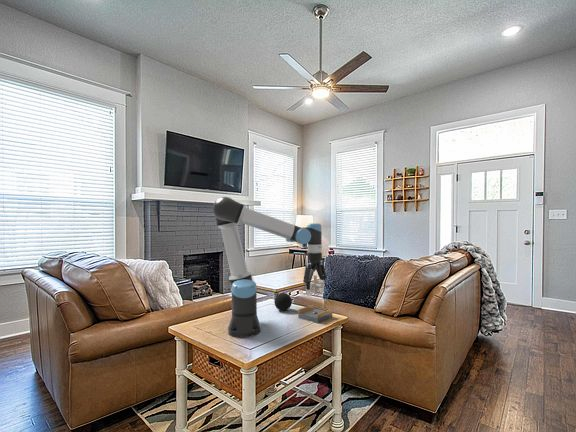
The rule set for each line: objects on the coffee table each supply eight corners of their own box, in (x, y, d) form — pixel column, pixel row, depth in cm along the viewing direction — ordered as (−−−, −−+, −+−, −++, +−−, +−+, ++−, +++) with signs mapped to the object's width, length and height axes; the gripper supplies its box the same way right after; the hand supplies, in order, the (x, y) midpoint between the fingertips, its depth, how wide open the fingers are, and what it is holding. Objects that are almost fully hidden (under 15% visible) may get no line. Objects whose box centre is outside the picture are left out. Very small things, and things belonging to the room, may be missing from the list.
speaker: (282, 314, 175) (281, 296, 175) (271, 310, 183) (270, 293, 183) (295, 310, 182) (295, 293, 182) (284, 307, 189) (284, 290, 190)
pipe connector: (328, 294, 168) (328, 275, 168) (314, 297, 162) (314, 278, 162) (315, 291, 176) (315, 273, 176) (302, 293, 170) (302, 275, 170)
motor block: (318, 323, 160) (317, 314, 160) (298, 318, 169) (298, 309, 169) (332, 317, 170) (332, 308, 170) (312, 312, 178) (312, 304, 178)
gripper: (307, 254, 158) (307, 299, 158) (332, 250, 175) (333, 290, 175) (295, 253, 163) (296, 296, 163) (321, 249, 180) (322, 288, 180)
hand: (315, 293), depth 169 cm, fingers closed on pipe connector, 10 cm apart
